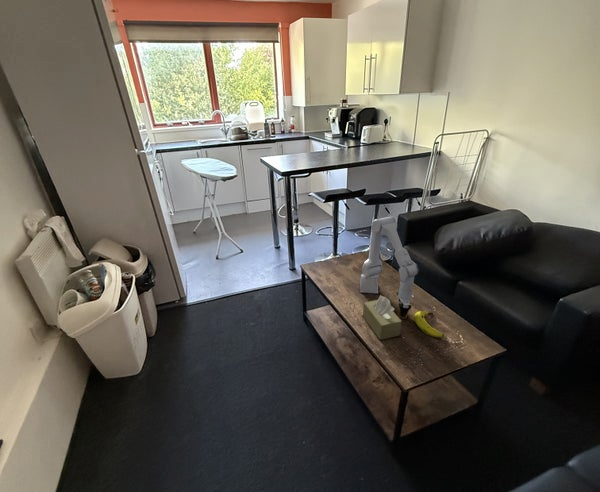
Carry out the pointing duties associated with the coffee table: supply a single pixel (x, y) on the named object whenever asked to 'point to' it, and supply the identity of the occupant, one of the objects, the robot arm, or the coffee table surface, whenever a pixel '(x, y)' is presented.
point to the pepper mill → (399, 311)
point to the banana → (426, 324)
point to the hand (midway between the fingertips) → (402, 311)
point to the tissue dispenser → (382, 318)
